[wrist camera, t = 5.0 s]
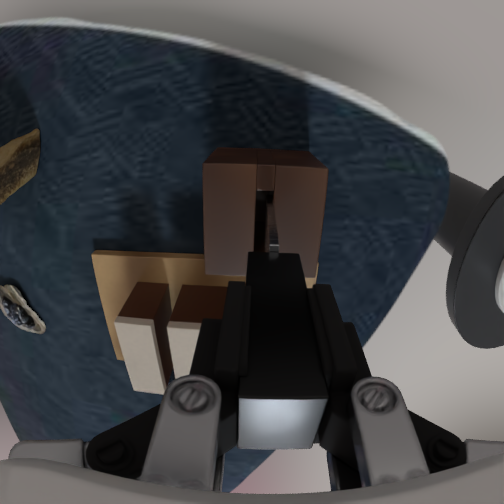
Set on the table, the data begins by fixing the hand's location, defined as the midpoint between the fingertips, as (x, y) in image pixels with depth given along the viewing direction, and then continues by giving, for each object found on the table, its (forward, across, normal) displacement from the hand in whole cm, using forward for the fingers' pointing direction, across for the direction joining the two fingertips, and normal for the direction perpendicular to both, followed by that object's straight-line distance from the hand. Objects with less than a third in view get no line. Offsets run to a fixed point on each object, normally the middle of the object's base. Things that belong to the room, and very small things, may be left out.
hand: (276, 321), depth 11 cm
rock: (+16, +26, -3) cm, 30 cm away
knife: (+10, 0, 0) cm, 10 cm away
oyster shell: (+16, +28, +14) cm, 35 cm away
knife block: (+16, 0, 0) cm, 16 cm away
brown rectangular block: (+15, +10, +12) cm, 21 cm away
